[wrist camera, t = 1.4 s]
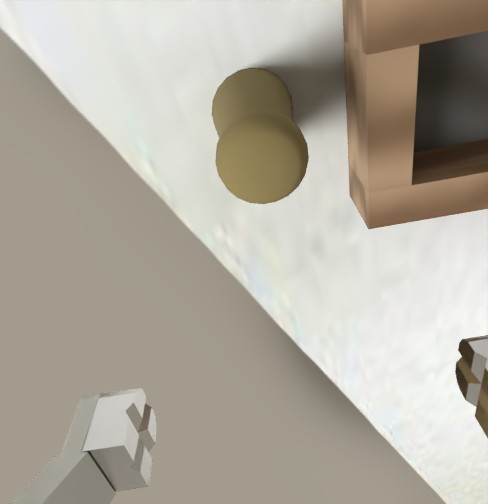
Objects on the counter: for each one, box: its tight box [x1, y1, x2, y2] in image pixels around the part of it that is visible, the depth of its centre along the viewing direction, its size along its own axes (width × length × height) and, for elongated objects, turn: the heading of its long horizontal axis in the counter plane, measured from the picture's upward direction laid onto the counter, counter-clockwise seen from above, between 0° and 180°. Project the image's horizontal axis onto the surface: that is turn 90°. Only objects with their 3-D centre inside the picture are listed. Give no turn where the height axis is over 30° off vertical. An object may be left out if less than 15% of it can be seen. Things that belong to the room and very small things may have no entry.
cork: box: [212, 68, 309, 204], centre depth 26 cm, size 6×6×11 cm
